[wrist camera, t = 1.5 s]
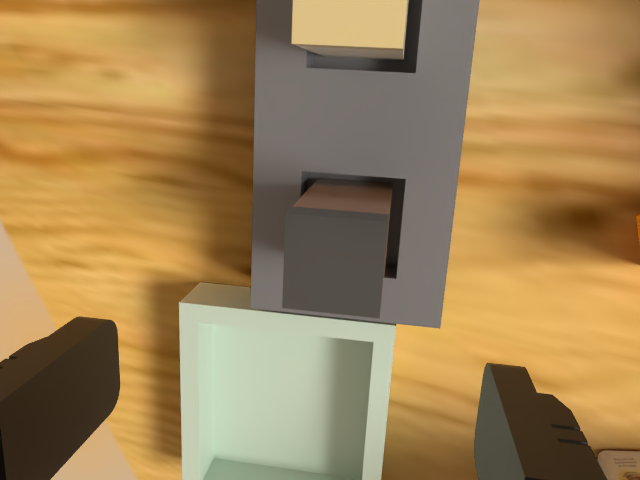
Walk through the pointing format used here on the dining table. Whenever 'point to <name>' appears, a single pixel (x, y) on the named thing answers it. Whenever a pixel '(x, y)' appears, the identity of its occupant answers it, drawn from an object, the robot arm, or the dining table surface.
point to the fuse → (351, 28)
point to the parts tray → (280, 391)
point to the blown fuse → (337, 248)
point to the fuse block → (364, 146)
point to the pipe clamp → (638, 227)
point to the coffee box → (620, 464)
